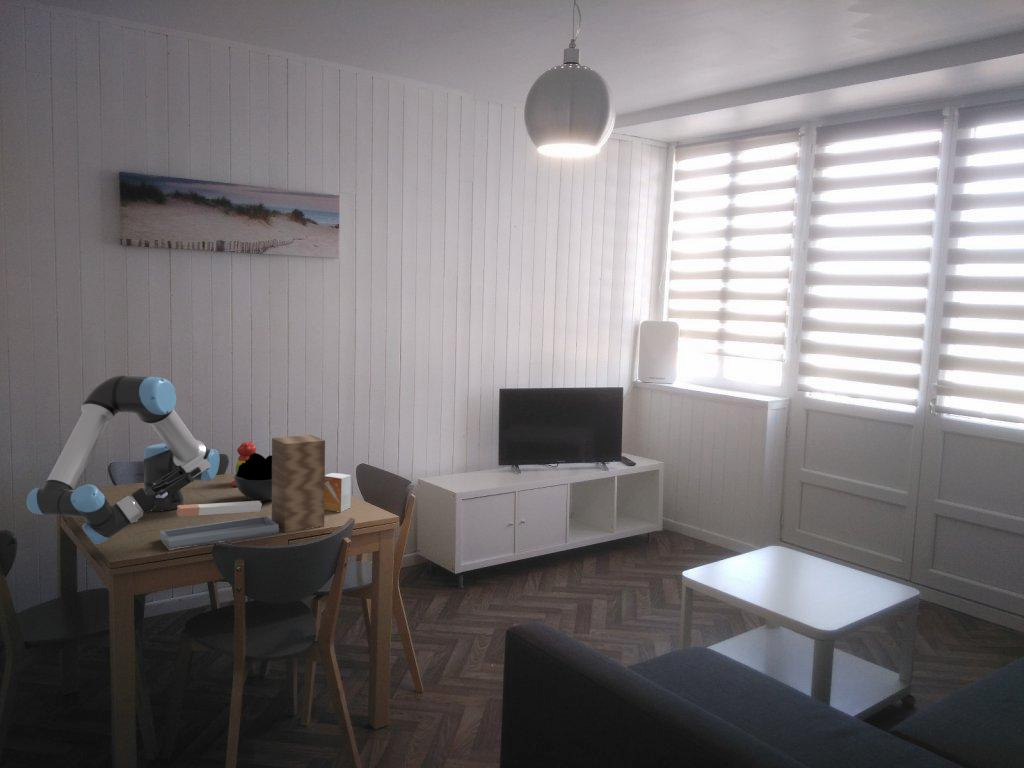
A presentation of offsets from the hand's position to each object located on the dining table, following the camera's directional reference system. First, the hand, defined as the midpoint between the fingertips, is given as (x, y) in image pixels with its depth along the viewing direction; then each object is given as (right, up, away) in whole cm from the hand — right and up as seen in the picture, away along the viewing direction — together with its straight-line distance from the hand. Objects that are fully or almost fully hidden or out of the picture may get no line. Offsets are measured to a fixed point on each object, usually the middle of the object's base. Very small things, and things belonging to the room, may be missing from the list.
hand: (205, 460), depth 243 cm
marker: (+3, -17, +5) cm, 18 cm away
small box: (+32, -23, +42) cm, 57 cm away
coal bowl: (+1, -20, +51) cm, 55 cm away
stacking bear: (-13, -17, +74) cm, 77 cm away
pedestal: (+23, -24, +21) cm, 40 cm away
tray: (+3, -25, +5) cm, 26 cm away
